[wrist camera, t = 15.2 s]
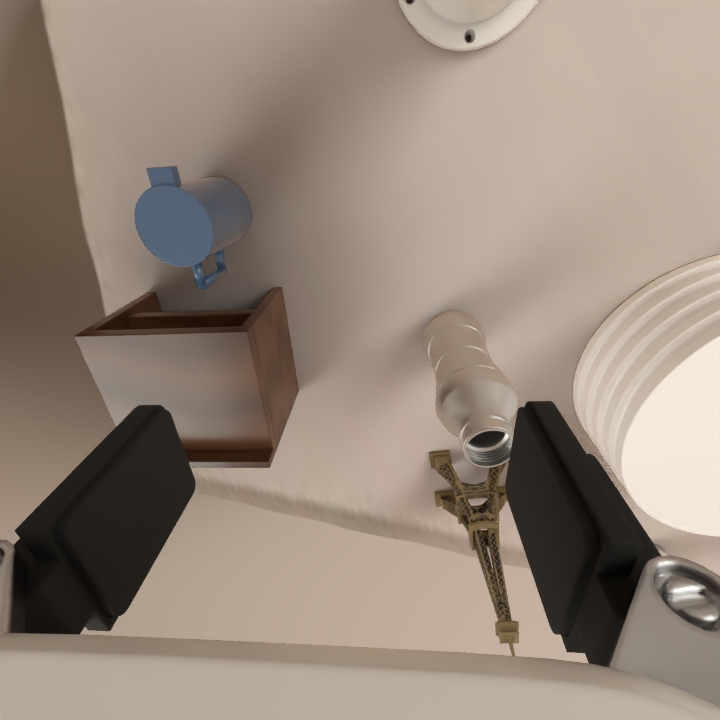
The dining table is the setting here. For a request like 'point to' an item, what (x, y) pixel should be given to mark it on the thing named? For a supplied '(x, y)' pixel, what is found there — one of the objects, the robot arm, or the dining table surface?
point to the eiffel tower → (481, 532)
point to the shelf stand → (200, 375)
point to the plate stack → (660, 396)
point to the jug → (191, 220)
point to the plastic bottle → (470, 389)
